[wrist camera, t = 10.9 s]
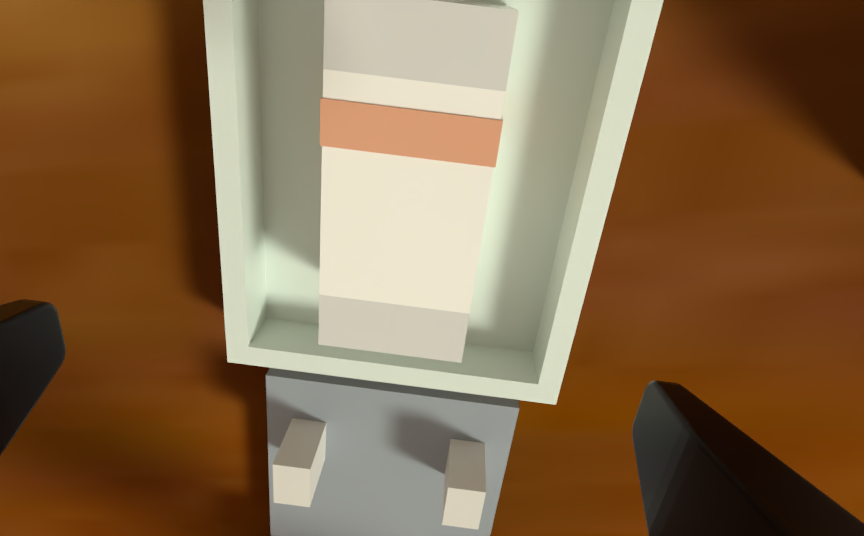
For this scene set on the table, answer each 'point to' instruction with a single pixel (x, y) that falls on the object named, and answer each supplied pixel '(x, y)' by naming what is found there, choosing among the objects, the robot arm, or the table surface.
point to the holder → (383, 457)
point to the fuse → (407, 168)
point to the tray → (507, 203)
